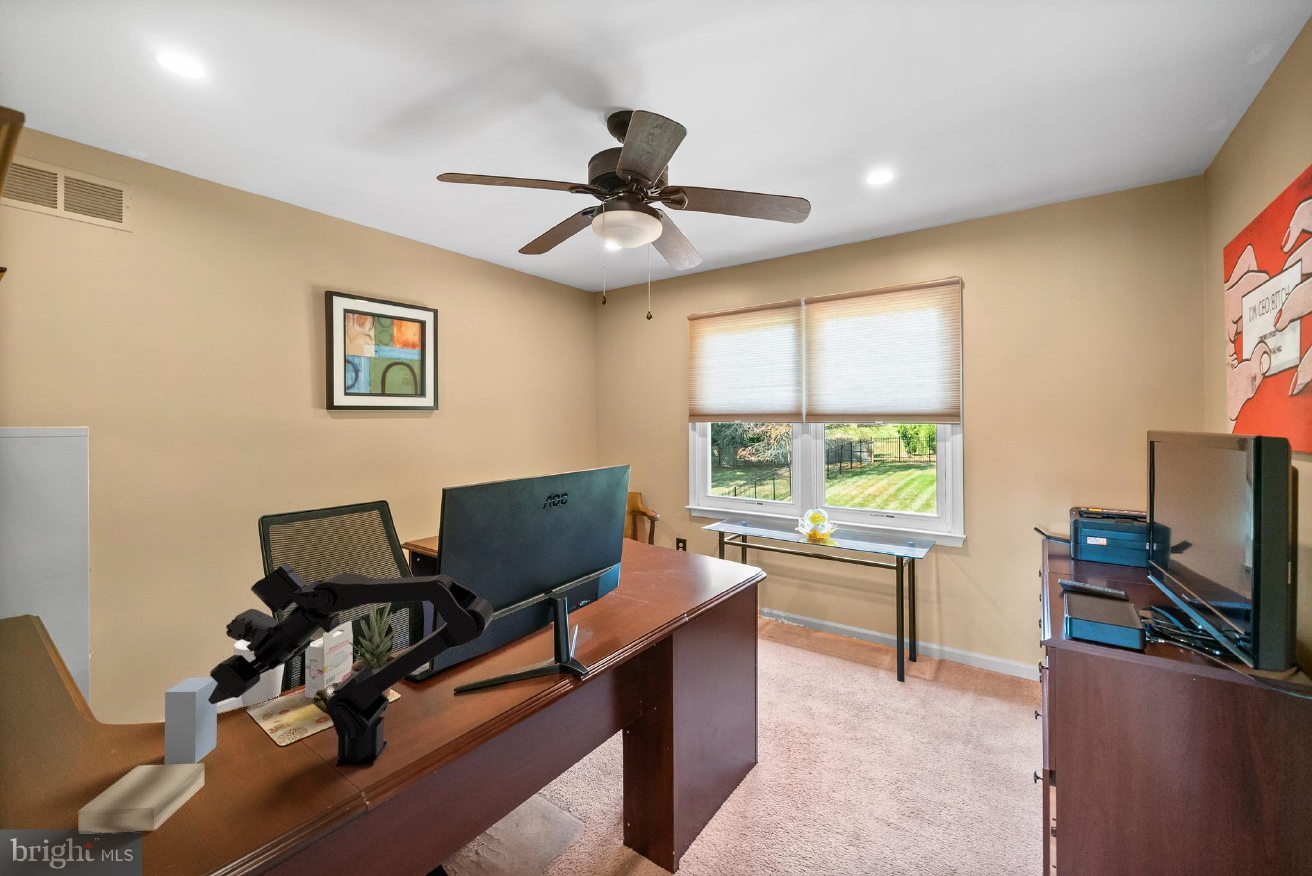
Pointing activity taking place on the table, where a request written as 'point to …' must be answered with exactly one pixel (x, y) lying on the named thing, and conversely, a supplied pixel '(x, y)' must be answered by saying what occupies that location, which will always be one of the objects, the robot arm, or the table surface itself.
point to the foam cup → (268, 680)
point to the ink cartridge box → (329, 659)
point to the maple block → (142, 798)
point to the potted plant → (375, 643)
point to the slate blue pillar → (190, 721)
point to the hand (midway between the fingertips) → (230, 688)
